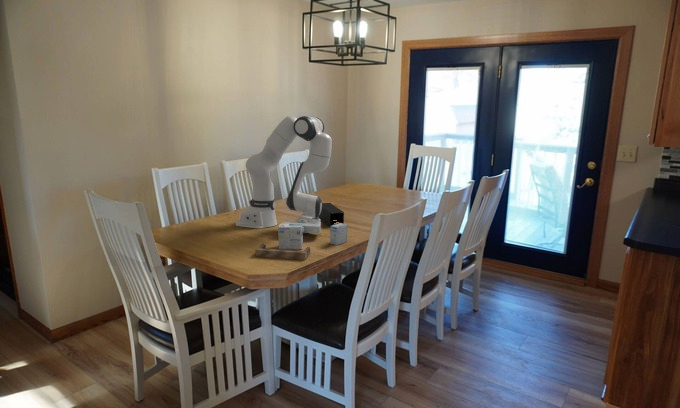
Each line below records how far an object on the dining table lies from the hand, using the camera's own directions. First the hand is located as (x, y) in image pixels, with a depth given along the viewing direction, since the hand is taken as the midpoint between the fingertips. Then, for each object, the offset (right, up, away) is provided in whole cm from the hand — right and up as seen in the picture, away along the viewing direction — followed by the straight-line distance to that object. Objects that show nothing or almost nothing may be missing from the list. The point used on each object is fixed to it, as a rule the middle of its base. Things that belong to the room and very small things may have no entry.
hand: (296, 231), depth 209 cm
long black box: (+19, +5, +27) cm, 33 cm away
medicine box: (+20, -6, 0) cm, 21 cm away
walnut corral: (-4, -9, -18) cm, 21 cm away
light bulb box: (-2, -7, -8) cm, 11 cm away
